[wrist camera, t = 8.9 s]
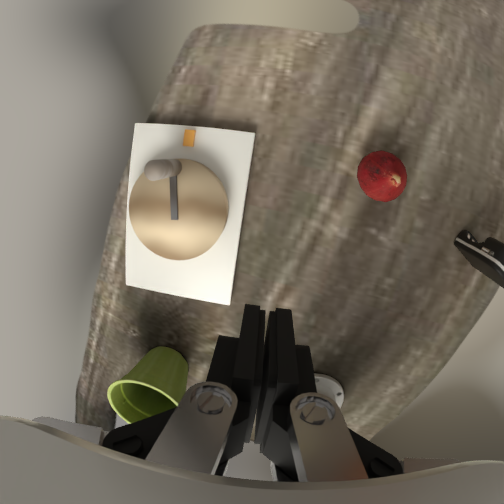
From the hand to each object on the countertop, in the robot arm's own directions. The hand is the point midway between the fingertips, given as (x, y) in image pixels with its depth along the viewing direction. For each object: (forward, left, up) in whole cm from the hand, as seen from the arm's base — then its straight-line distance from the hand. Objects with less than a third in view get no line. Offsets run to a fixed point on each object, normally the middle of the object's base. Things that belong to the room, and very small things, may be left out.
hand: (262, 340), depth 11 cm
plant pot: (-27, +12, -27) cm, 40 cm away
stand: (-2, +11, -27) cm, 29 cm away
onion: (+7, -12, -27) cm, 31 cm away
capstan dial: (-1, +11, -25) cm, 27 cm away
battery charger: (+1, -31, -27) cm, 41 cm away
